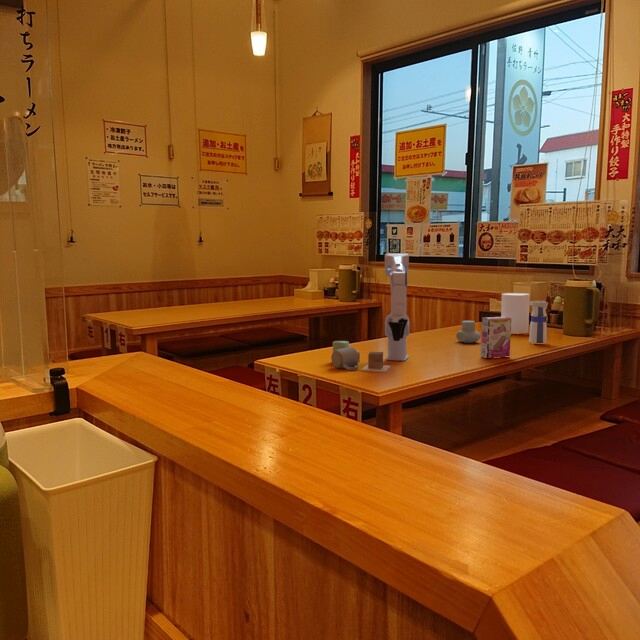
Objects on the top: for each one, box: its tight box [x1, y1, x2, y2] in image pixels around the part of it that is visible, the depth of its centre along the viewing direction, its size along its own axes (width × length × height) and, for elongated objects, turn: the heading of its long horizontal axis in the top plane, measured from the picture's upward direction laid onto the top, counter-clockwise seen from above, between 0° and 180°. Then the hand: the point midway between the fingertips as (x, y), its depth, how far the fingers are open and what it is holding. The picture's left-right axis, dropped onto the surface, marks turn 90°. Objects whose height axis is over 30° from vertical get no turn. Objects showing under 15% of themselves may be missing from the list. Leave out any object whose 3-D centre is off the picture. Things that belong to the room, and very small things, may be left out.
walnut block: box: [367, 351, 384, 369], centre depth 221 cm, size 5×5×6 cm
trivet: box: [361, 363, 391, 373], centre depth 221 cm, size 9×9×1 cm
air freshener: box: [455, 320, 481, 344], centre depth 277 cm, size 11×8×10 cm
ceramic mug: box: [331, 346, 360, 371], centre depth 223 cm, size 11×8×8 cm
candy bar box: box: [480, 316, 512, 359], centre depth 240 cm, size 11×5×16 cm, turn 111°
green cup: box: [332, 340, 350, 353], centre depth 234 cm, size 6×6×8 cm
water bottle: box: [528, 291, 550, 344], centre depth 272 cm, size 8×9×25 cm
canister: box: [500, 292, 531, 334], centre depth 304 cm, size 14×14×20 cm
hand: (398, 339), depth 224 cm, fingers open, 7 cm apart
